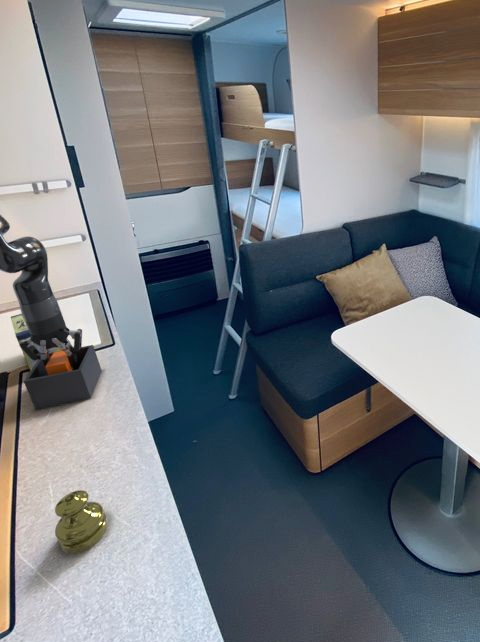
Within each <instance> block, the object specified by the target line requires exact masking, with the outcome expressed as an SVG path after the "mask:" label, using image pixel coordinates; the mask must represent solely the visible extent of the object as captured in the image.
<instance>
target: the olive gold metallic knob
mask: <svg viewBox="0 0 480 642" xmlns="http://www.w3.org/2000/svg"><path fill="white" fill-rule="evenodd" d="M54 513H55V515H56V516H58V517H60V519H59V520H58V521H57V524H56V525H55V528H54V535H55V538H56V540H58V544H59V545H60V547H61V549H62V551H63V552H64V553H66V554H69V555H70V554H71V555H75V554H79V553H82V552H85V551H87V550H89V549H90V548H92V547H93V546H95V545H96V544H97V543H98V542H99V541H100V540H101V539H102V538H103V537H104V535H105V534H106V532H107V530H108V526H109V522H108V519H107V516H106V513H105V512H104V508H103V506H102V504H101V503H99V502H98V501H92V500H91V501H89V493H88V492H87V491H86V490H83V489H78V490H74V491H72V492H69V493H67V494H65V496H63V497H62V498H61V499H59V501H58V502H57V503H56V505H55V507H54Z"/></svg>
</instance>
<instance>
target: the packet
mask: <svg viewBox="0 0 480 642" xmlns="http://www.w3.org/2000/svg"><path fill="white" fill-rule="evenodd" d="M67 356H68V355H67V354H66V353H65V352H64V351H58V352H54V353H53V355H52V356H51V359H50V360H49V362H48V363H47V365H46V366H45V368H46V370H47V373H48V375H52V374H57V373H62V372H67V371H72V369H73V367H71V365H70V362H69V360H68V358H67Z"/></svg>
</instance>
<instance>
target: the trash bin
mask: <svg viewBox="0 0 480 642" xmlns="http://www.w3.org/2000/svg"><path fill="white" fill-rule="evenodd" d="M57 352H58V351H57ZM53 353H54V352H52V353H49V356H52V355H53ZM75 354H76V356H77V359H78V361H77V363H76V364H75V366H74V367H73V369H72V371H67V372H62V373H57V374H52V375H48V373H47V370H46V368H45V366H44V363H43V361H41V360H38V361H37V362H36V364H35V365H34V367H33V368H32V370H31V371H30V370H29V373H28V374H27V376H26V377H25V379H24V381H23V385H24V386H25V389H26V391H27V393H28V395H29V398H30V400H31V402H32V405H33V407H34V409H35V411H40V410H45V409H49V408H55V407H58V406H63V405H68V404H72V403H76V402H81V401H85V400H91V399H92V397H93V395H94V392H95V390H96V387H97V385H98V383H99V379H100V377H101V375H102V372H103V370H102V366H101V364H100V361H99V358H98V355H97V353H96V350H95V346H94V344H91V345H84V346H81V348H80V350H79V352H77V353H75Z"/></svg>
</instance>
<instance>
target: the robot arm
mask: <svg viewBox="0 0 480 642" xmlns="http://www.w3.org/2000/svg"><path fill="white" fill-rule="evenodd" d="M10 228H11V225H10V223H9V222H8V221H7V219H5V218H4V217H3V216H2V214H0V271H1V272H3V273H7V274H17V273H20V275H19V276H18V277H17V278H15V279H14V281H13V282H12V289H13V292H14V294H15V297H16V299H17V302H18V305H19V309H20V310H19V311H20V314H22V317H23V318H24V320H25V323H26V325H27V327H28V330H29V332H30V334H31V338H28V339H26V338H25V339H23V341H22V342H21V343H20V345H18V346H19V347H20V349H21V348H22V349H23V350H24V351H25V353H26V354H27V355H28V356H29V357H30V358H31V359H32V360H33V361H36V360H41V361H43V363H44V366H46V365H47V363H48V362H49V360H50V359H51V356H49V349H51V348H53V347H59V348H60V349H61V350H62V351H64V352H65V353H66V354H67V355H68V356H67V358H68V360H69V362H70V365H71V367H74V366H75V364H76V363H77V361H78V359H77V356H76V354H75V353H77V352H79V350H80V348H81V347H83V346H82V343H83V329H82V328H78V329H77V330H73V329H72V330H70V328H68V326H66V325H67V324H66V321H65V318H64V316H63V313H62V311H61V308H60V305H59V302H58V300H57V298H56V297H55V295H54V292H53V289H52V287H51V284H50V281H49V261H48V260H49V258H48V253H47V249H46V247H45V246H44V244H43V243H42V242H41V241H40V240H39V239H37V238H35V237H34V236H29V235H28V236H22V237H19V238H16V239H14V240H12V241H9V242H8V241H7V240H5V237H4V235H5V234H7V232H8V231H10ZM69 336H70V337H71V339H72V340H73V345H72V343H71V341H70V340H69V339H68V338H69ZM33 342H34V343H35V344H37V345H39V346H40V352H39V351H38V350H37V349H36V347H35V346H34V345H33ZM22 349H21V350H22Z"/></svg>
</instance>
